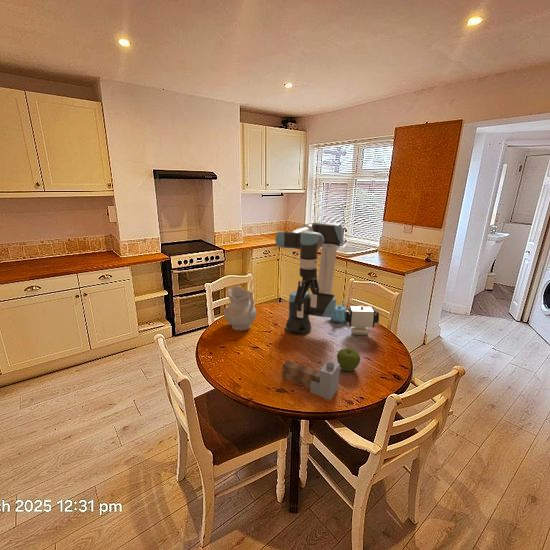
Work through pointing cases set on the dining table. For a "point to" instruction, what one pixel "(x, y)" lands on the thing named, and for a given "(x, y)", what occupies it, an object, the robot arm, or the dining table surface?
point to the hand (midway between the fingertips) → (306, 312)
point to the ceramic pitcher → (240, 308)
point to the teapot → (339, 313)
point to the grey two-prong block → (327, 381)
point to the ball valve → (361, 319)
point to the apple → (348, 359)
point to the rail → (300, 373)
